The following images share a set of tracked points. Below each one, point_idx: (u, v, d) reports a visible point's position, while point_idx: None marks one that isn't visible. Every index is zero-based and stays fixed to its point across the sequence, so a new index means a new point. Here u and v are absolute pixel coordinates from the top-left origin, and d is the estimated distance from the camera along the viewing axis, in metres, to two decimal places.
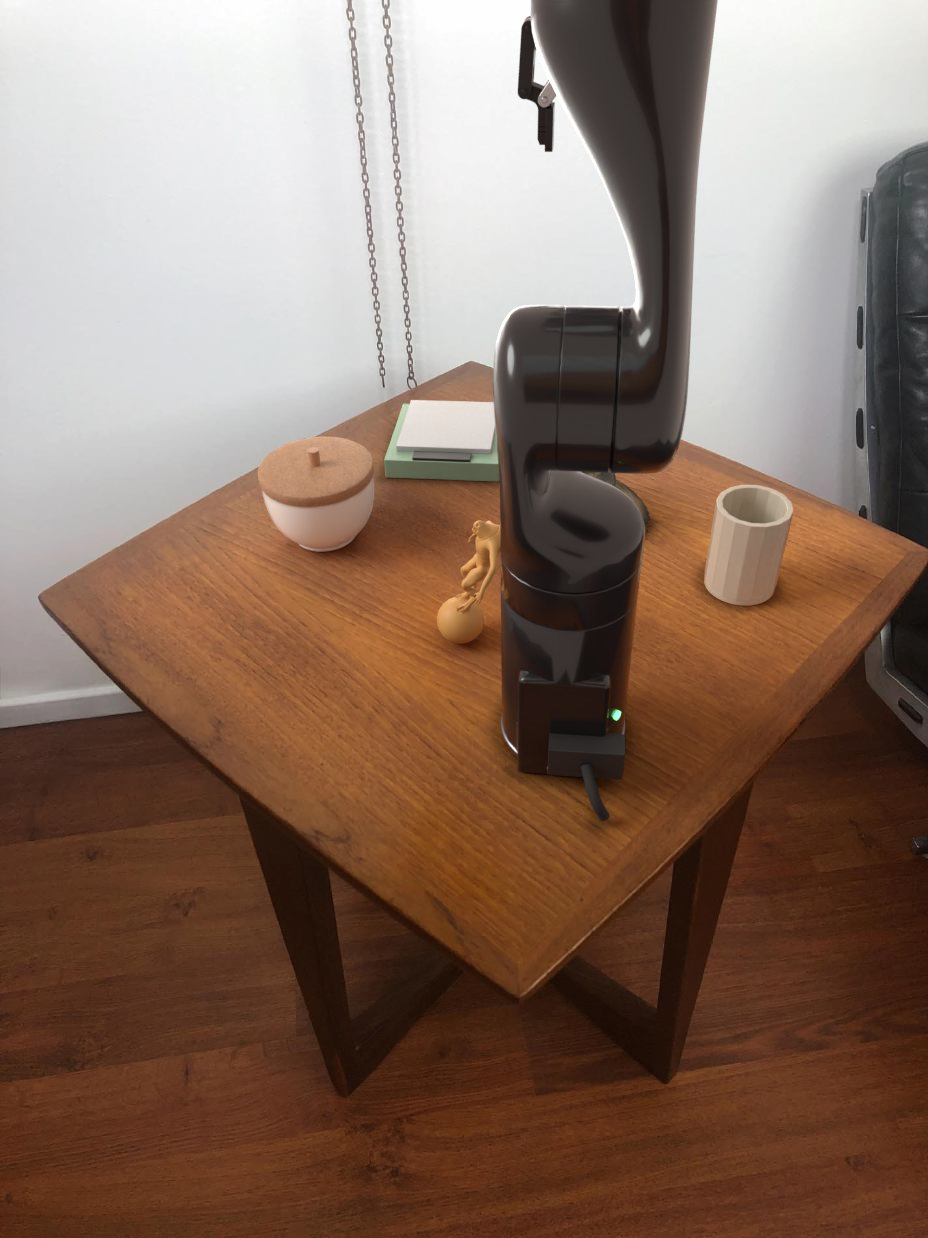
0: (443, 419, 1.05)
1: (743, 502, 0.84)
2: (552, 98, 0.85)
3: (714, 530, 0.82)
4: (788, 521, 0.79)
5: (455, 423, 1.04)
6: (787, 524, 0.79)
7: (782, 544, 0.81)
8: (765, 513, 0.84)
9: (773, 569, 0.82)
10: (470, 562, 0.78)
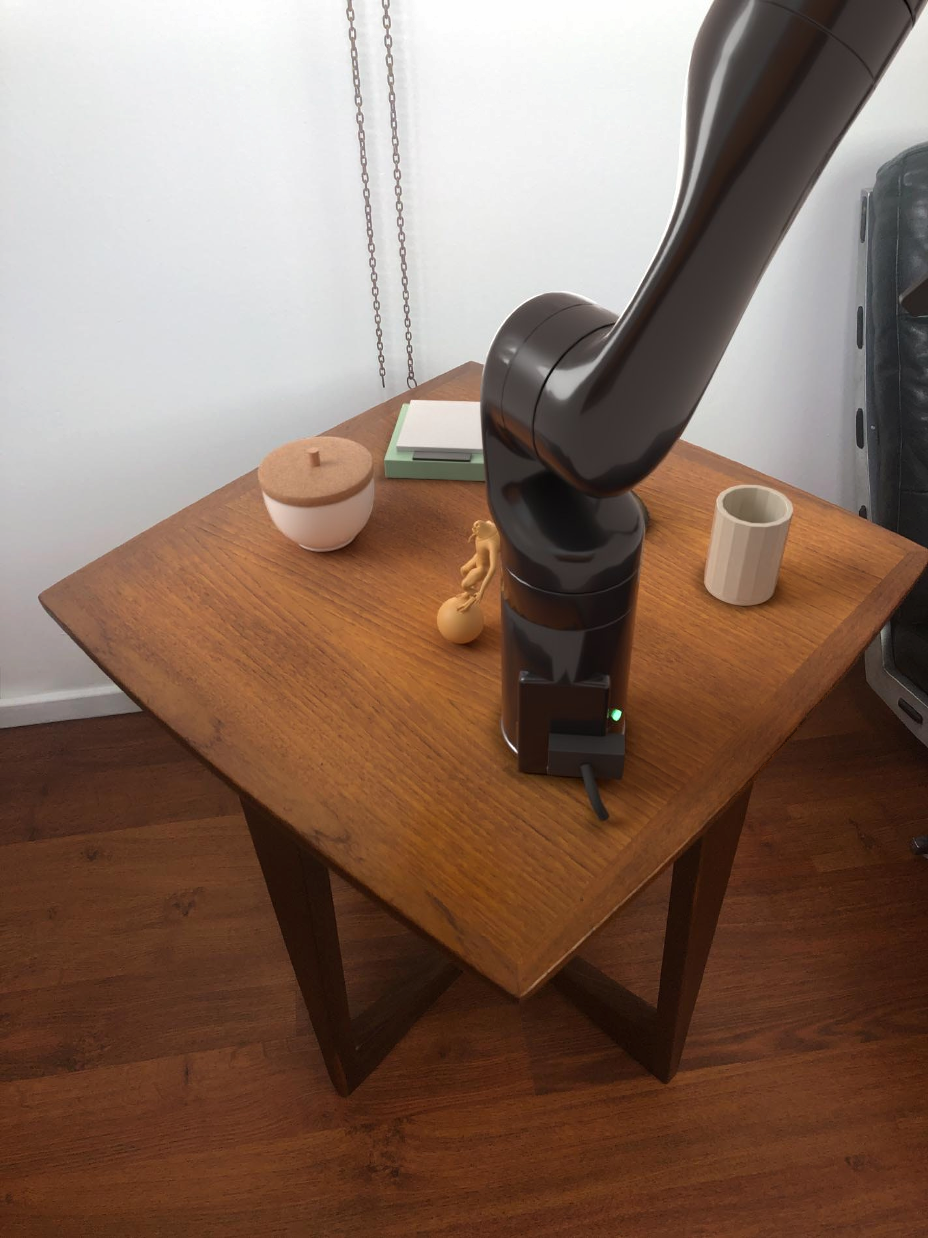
0: (443, 419, 1.05)
1: (743, 502, 0.84)
2: None
3: (714, 530, 0.82)
4: (788, 521, 0.79)
5: (455, 423, 1.04)
6: (787, 524, 0.79)
7: (782, 544, 0.81)
8: (765, 513, 0.84)
9: (773, 569, 0.82)
10: (470, 562, 0.78)
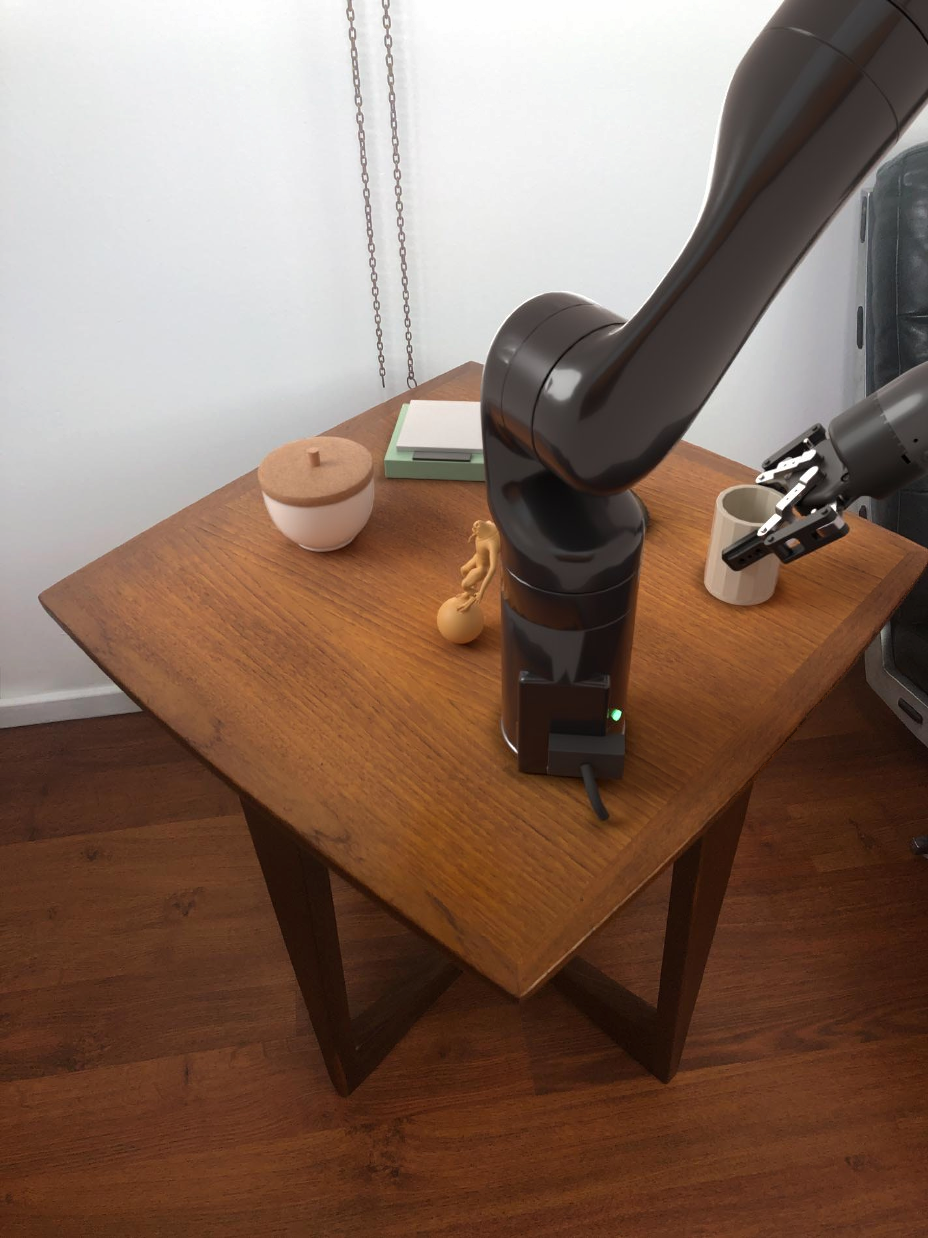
0: (443, 419, 1.05)
1: (743, 501, 0.84)
2: (762, 481, 0.83)
3: (714, 530, 0.82)
4: None
5: (455, 423, 1.04)
6: (787, 524, 0.79)
7: None
8: (764, 513, 0.84)
9: (773, 569, 0.82)
10: (470, 562, 0.78)
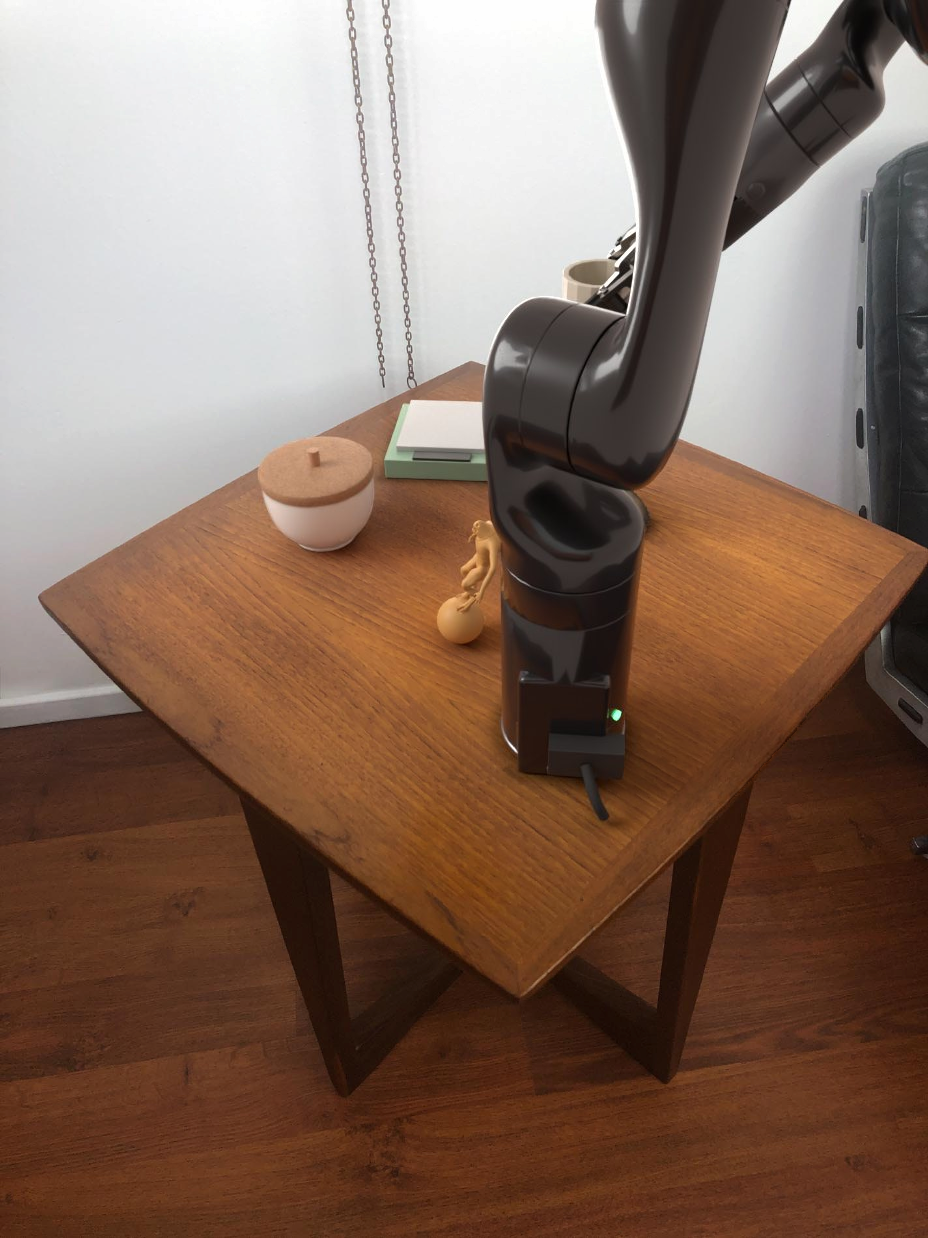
0: (443, 419, 1.05)
1: (594, 278, 0.83)
2: (612, 254, 0.82)
3: None
4: None
5: (455, 423, 1.04)
6: None
7: None
8: None
9: None
10: (470, 562, 0.78)
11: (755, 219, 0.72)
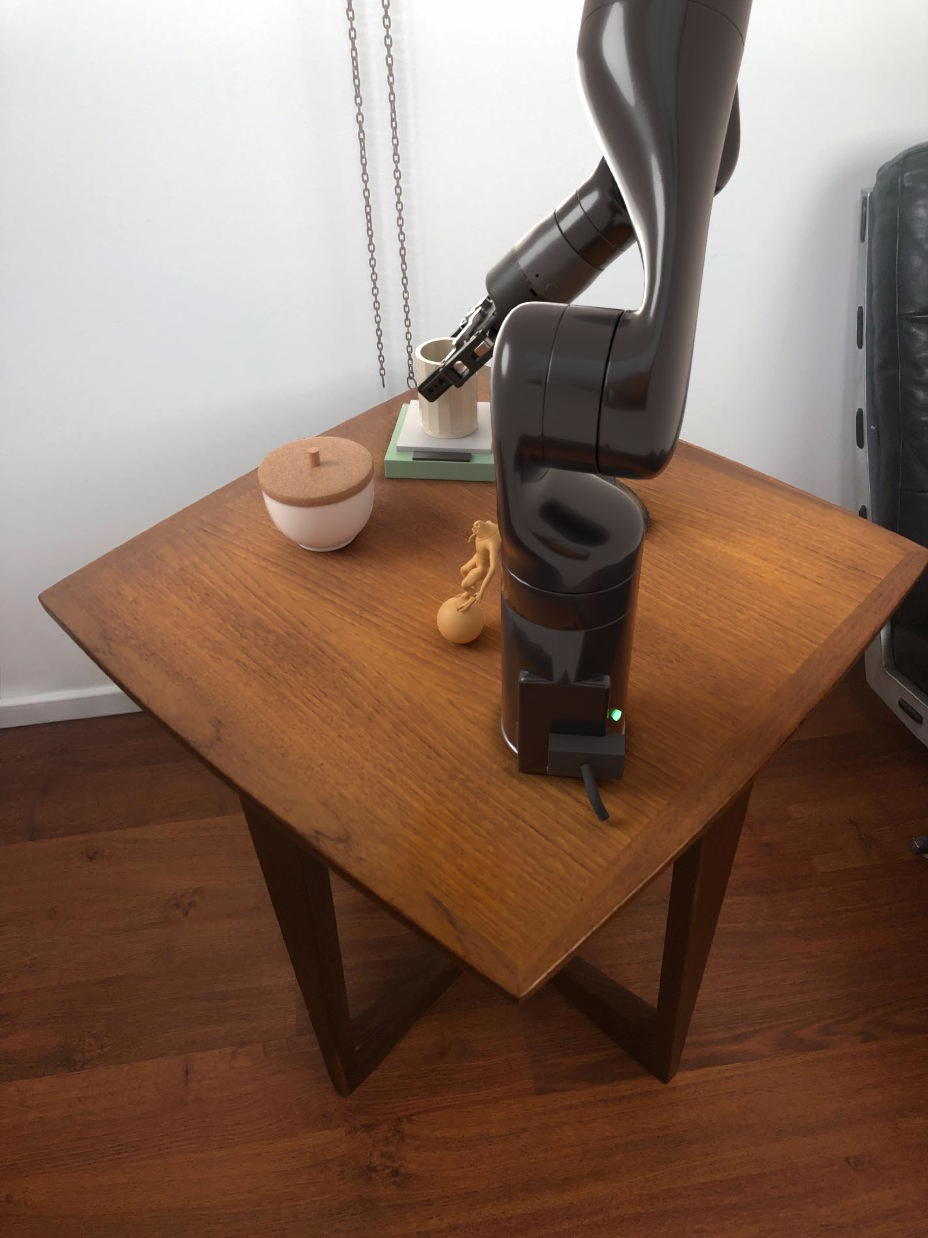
0: None
1: (445, 352, 1.01)
2: (462, 323, 1.00)
3: None
4: None
5: None
6: None
7: (468, 383, 0.98)
8: None
9: (465, 405, 1.00)
10: (470, 562, 0.78)
11: None
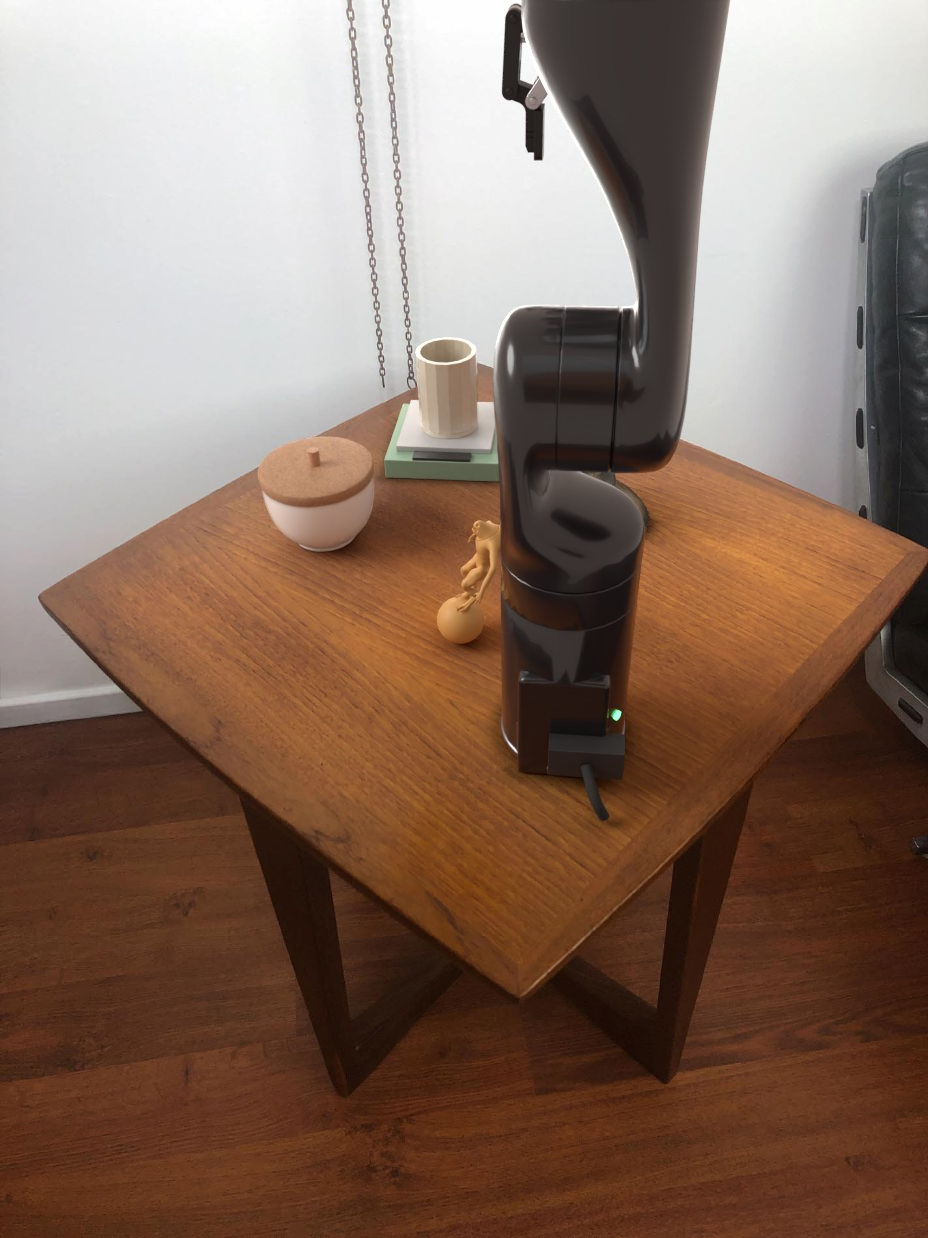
0: None
1: (445, 352, 1.01)
2: (542, 99, 0.73)
3: None
4: (469, 361, 0.97)
5: None
6: (468, 364, 0.97)
7: (468, 383, 0.98)
8: None
9: (465, 405, 1.00)
10: (470, 562, 0.78)
11: None
